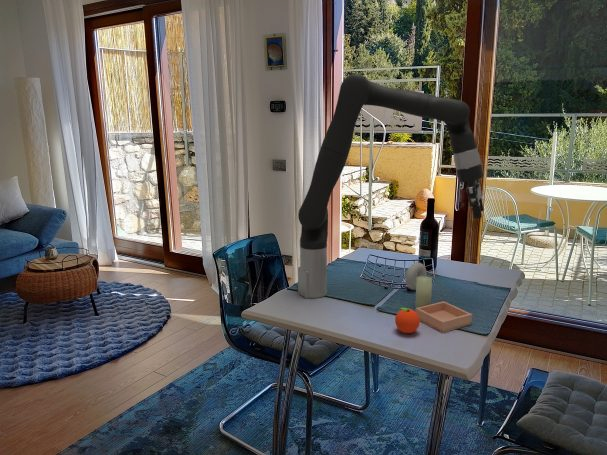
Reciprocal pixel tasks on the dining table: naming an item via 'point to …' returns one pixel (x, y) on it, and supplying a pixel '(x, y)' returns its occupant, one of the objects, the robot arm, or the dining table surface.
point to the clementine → (407, 320)
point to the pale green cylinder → (423, 291)
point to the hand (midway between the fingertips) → (479, 214)
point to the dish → (443, 316)
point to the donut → (414, 274)
